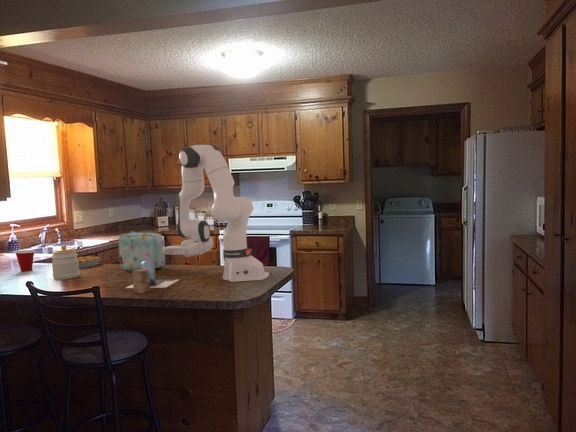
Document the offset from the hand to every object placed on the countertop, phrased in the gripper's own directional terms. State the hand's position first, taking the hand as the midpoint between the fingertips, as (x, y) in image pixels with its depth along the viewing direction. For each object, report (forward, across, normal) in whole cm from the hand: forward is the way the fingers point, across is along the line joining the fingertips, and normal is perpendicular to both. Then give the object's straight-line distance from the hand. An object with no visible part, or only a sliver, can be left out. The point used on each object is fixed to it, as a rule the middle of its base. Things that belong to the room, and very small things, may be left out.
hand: (169, 252), depth 229 cm
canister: (+12, -3, +13) cm, 18 cm away
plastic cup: (+7, -110, +10) cm, 111 cm away
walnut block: (+23, +4, +14) cm, 28 cm away
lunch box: (-16, -39, +12) cm, 44 cm away
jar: (+12, -65, +12) cm, 67 cm away
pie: (-14, -88, +11) cm, 90 cm away
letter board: (+10, -3, +14) cm, 17 cm away
